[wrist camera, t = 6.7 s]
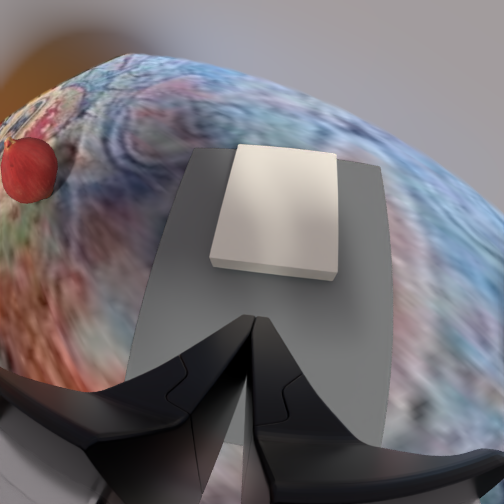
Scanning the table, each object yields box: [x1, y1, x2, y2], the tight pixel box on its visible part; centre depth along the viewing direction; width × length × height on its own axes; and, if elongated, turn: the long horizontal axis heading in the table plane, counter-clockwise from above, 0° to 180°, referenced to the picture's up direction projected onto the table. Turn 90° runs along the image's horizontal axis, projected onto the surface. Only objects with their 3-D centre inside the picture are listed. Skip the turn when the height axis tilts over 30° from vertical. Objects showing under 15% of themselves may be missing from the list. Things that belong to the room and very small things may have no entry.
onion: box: [1, 136, 58, 204], centre depth 18 cm, size 6×6×8 cm
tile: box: [209, 144, 338, 281], centre depth 18 cm, size 2×7×9 cm
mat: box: [125, 148, 393, 448], centre depth 17 cm, size 20×15×1 cm
